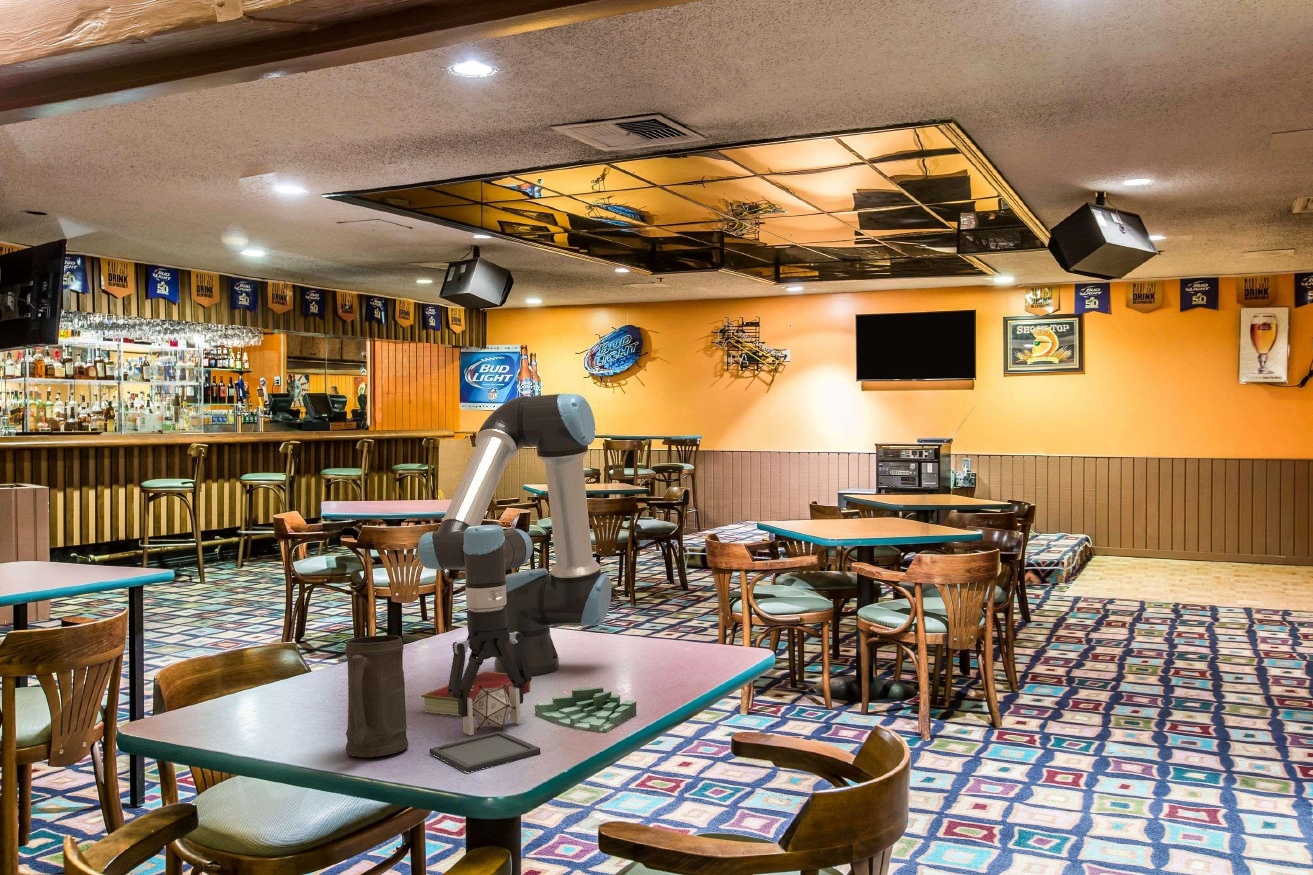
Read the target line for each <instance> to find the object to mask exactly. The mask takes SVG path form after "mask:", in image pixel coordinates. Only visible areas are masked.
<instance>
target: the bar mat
mask: <svg viewBox="0 0 1313 875" xmlns="http://www.w3.org/2000/svg"><path fill="white" fill-rule="evenodd" d="M430 754H432V755H435V756H437V757H439V758H440V759H442V760H445V761H446V762H448V763H449V764H448V763H447V764H448V765H450V764H451V765H450V766H452V767H453V766H455V767H457V768H459V769H461V770H463V771H466V772H471V771H475V772H477V771H476V770H478V771H480V770H479V769H482V768H486V767H489V768H492V767H491V766H493V767H496V766H497V767H498V766H500V764H501V765H503V764H508V763H511V762H515V761H519V760H522V759H526V758H529V757H534V756H537V755H541V747H539V746H538V745H537V746H536V745H534V744H532V743H530V742H527V741H525V740H523V739H520V738H517V737H516V736H512V735H510V734H507V733H506V732H503V731H501V730H500V731H496V732H491V733H488V734H483V735H480V736H475V737H471V738H467V739H463V740H459V741H455V742H450V743H447V744H443V745H438V746H434V747H431V748H429V755H430ZM432 755H431V756H432ZM440 759H439V760H440ZM442 760H441V761H442ZM446 762H445V763H446ZM507 762H508V763H507ZM455 767H454V768H455ZM457 768H456V769H457ZM459 769H458V770H459ZM486 769H487V768H486ZM461 770H460V771H461ZM482 770H483V769H482ZM463 771H462V772H463ZM471 773H472V772H471Z"/></svg>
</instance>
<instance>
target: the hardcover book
mask: <svg viewBox="0 0 1313 875" xmlns="http://www.w3.org/2000/svg"><path fill="white" fill-rule="evenodd" d="M479 684H480V685H482V688H503V686H504V685H505V684H506V687H505V691H506V693H507V695H508V697H509V687H510V686H513V687H514V685H513V684H512V682H511V681H510V679H509V677H508V675H507V673H497V672H495V671H486V670H485V671H483V672H482V671H481V672H479V673H477V675H476V678H475V680H474V683H473V686H472V688H471V691H470V693H469V696H468V698H471V699H472V703H473V701H474V699H475V698H476V696H477V695H478V693H479V691H480V690H481V689H480V687H479ZM448 685H449V684H448ZM448 685H445V686H441V687H440V688H437V689H435V690H431V691H429V692H426V693H424V694H421V696H420V697H421V698H424V699H423V700H424V701H423V702H424V703H423V704H424V712H425V711H427V712H434V713H433V714H436V713H440V714H439V715H445V714H452V715H451V716H453V715H458V716H457V717H460V716H459V714H458V700H457V698H453V697H451V696H448V694H447V691H448ZM530 692H531V682H527V683H526V686H525V688H523V695H525V694H527V693H530ZM427 712H426V713H427ZM473 717H475V716H474V714H473Z"/></svg>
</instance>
